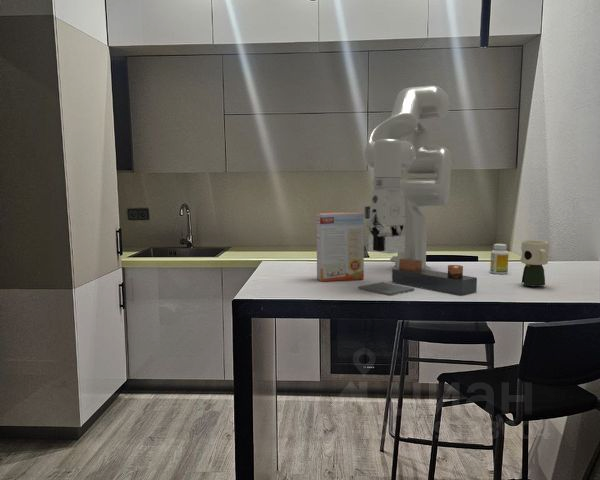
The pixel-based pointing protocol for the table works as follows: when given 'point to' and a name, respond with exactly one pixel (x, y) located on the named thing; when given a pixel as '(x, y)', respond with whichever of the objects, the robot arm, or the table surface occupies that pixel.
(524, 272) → the character mug
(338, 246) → the cracker box
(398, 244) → the lever cap
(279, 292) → the table surface
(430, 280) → the body
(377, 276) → the table surface
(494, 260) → the supplement bottle
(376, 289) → the rubber mat
